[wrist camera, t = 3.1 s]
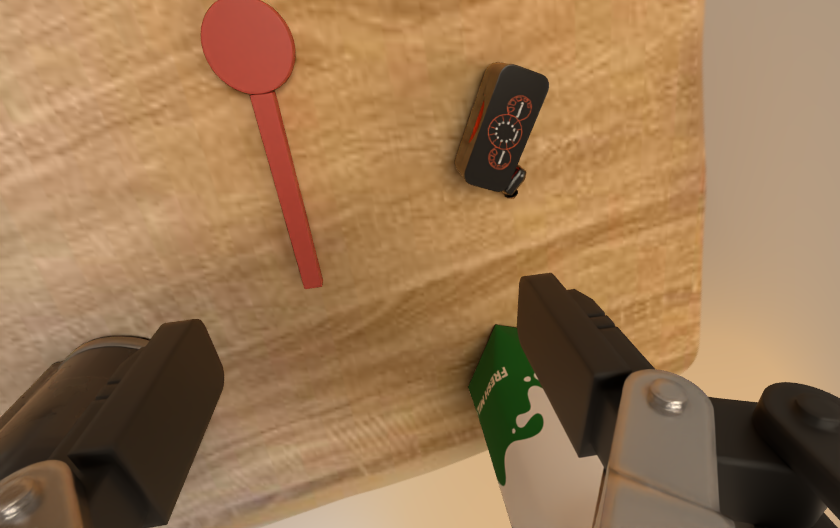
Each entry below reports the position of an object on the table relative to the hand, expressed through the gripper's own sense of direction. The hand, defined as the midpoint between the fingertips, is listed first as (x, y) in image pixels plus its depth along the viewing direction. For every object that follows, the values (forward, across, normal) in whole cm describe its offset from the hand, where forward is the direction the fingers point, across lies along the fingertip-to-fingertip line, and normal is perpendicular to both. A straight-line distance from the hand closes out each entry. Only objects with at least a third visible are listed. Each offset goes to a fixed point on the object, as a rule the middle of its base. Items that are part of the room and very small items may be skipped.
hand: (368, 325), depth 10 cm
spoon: (+16, +5, -1) cm, 17 cm away
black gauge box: (+16, -8, -1) cm, 18 cm away
